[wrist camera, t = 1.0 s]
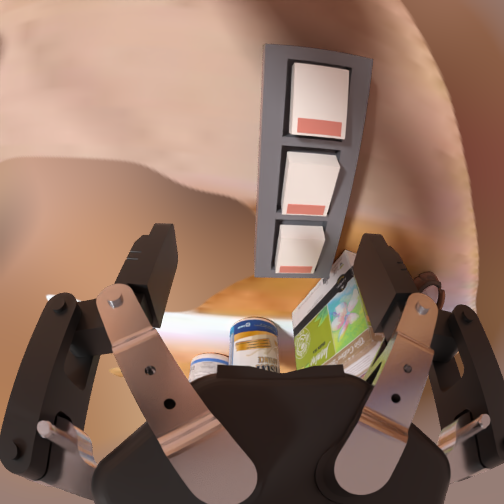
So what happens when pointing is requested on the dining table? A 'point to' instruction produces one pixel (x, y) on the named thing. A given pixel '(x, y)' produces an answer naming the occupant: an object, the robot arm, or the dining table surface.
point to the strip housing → (281, 141)
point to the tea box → (335, 323)
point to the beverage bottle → (254, 344)
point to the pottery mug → (428, 280)
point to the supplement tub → (206, 365)
